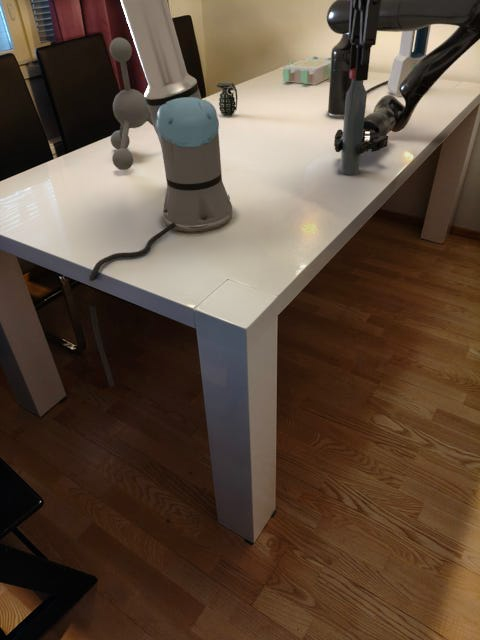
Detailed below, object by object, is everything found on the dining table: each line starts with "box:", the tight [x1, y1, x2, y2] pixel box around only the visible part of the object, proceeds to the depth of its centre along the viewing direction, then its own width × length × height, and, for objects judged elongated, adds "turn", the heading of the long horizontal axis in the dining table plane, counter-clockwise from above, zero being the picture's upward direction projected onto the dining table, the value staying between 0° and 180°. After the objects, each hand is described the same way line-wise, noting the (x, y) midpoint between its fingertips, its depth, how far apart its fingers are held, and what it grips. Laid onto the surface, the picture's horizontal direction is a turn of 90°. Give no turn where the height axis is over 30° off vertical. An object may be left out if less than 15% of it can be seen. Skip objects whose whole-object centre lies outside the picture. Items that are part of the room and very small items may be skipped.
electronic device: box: [387, 25, 432, 97], centre depth 173 cm, size 12×8×30 cm, turn 105°
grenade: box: [215, 82, 238, 117], centre depth 166 cm, size 7×6×10 cm
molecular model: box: [109, 37, 153, 171], centre depth 131 cm, size 24×22×30 cm
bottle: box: [339, 79, 368, 176], centre depth 117 cm, size 5×5×23 cm
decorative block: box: [282, 56, 331, 85], centre depth 205 cm, size 26×6×20 cm
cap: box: [350, 68, 356, 79], centre depth 110 cm, size 4×4×2 cm
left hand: (357, 77), depth 111 cm, fingers closed on cap, 4 cm apart
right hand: (347, 149), depth 119 cm, fingers closed on bottle, 4 cm apart
